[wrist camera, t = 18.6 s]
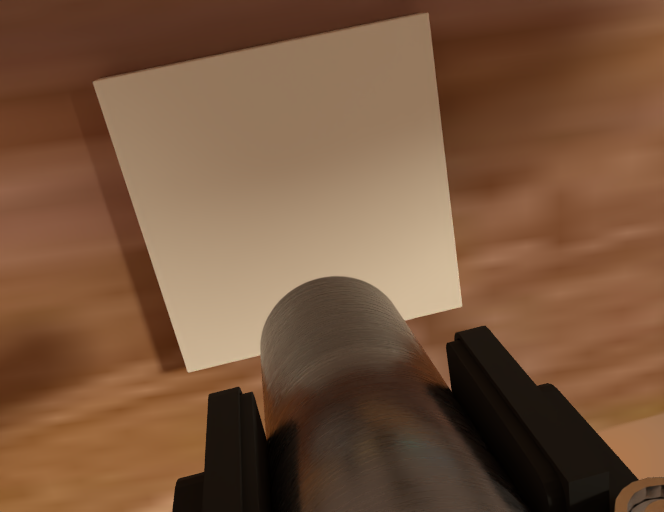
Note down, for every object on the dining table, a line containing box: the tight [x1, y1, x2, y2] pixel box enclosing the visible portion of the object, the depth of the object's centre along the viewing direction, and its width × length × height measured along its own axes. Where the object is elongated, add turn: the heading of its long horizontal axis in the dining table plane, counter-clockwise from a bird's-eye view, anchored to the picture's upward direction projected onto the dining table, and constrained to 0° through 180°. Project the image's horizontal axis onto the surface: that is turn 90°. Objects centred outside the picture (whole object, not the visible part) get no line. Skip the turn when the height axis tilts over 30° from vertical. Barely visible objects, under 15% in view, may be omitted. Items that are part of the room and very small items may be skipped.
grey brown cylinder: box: [260, 276, 531, 512], centre depth 10 cm, size 4×4×10 cm
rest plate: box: [93, 13, 462, 373], centre depth 24 cm, size 12×12×1 cm
